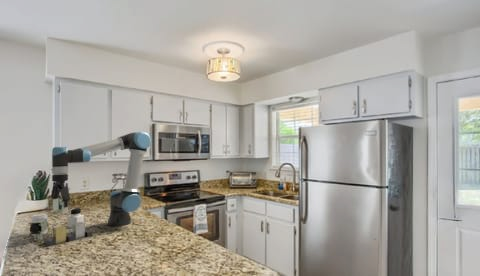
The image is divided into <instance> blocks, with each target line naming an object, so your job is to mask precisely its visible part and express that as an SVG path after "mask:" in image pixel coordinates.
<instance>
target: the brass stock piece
mask: <svg viewBox="0 0 480 276" xmlns="http://www.w3.org/2000/svg"><path fill="white" fill-rule="evenodd" d="M66 233H67V226H65V225H59V226H55V227H52V238H53V239H55V240H56V244H57V243H62V242H66ZM66 243H67V242H66ZM62 244H63V243H62Z"/></svg>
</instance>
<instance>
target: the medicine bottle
mask: <svg viewBox="0 0 480 276" xmlns="http://www.w3.org/2000/svg"><path fill="white" fill-rule="evenodd" d="M69 211H70V214H69V216H67V217H66V229H67V228H70V229H72V224H73V223H78V222H83V223H85V222H84V221H85V218H84V217H85V216H84V214H81V213H82V209H81V208H79V207H76V208H71V209H70V210H69Z"/></svg>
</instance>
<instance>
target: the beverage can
mask: <svg viewBox="0 0 480 276" xmlns="http://www.w3.org/2000/svg"><path fill="white" fill-rule="evenodd" d="M38 219H47V222H49V219H48V214H47V213H37V214H33V215H32V217H31V223H32V222H34V221H36V220H38ZM48 227H49V226H48ZM48 227H47V228H46V230H45V231H43V232H42V233H43V236H44V235H46V234H48V232H49V231H48V229H49V228H48ZM40 234H41V233H40ZM30 235H31V236H33V237H34V235H35V234H30Z"/></svg>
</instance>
